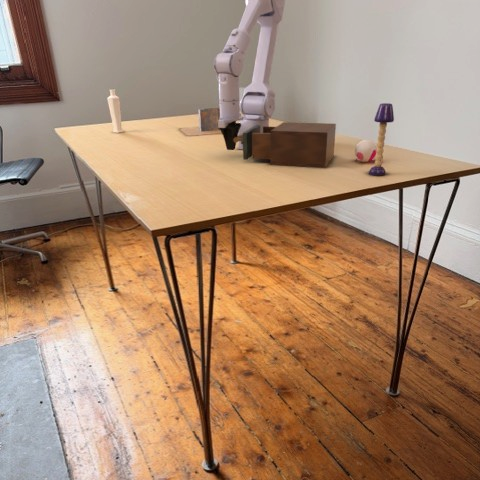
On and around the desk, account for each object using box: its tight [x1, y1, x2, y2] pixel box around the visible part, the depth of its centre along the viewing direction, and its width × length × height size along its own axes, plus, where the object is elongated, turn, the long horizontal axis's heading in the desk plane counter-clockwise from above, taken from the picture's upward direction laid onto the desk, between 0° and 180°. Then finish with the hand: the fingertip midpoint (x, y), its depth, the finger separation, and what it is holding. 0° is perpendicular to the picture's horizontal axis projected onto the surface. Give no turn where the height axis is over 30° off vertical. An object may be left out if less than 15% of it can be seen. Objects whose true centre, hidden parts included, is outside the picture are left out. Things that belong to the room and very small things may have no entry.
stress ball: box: [354, 139, 377, 163], centre depth 136 cm, size 8×8×7 cm
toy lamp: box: [368, 102, 395, 176], centre depth 121 cm, size 5×5×17 cm
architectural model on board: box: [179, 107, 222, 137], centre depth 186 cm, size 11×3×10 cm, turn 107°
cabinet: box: [269, 121, 337, 168], centre depth 138 cm, size 16×15×9 cm
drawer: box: [234, 125, 276, 161], centre depth 141 cm, size 19×13×7 cm
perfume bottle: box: [106, 88, 124, 134], centre depth 185 cm, size 5×4×15 cm
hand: (230, 149), depth 145 cm, fingers closed, pressing on drawer
